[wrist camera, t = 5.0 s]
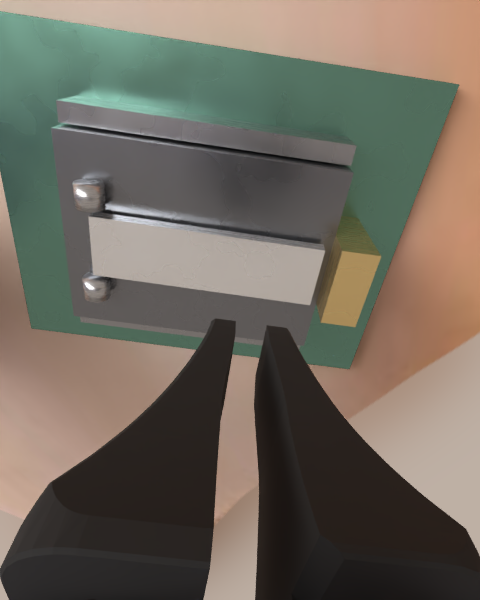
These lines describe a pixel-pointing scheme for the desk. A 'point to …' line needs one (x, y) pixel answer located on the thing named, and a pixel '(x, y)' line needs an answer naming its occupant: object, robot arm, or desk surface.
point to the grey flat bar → (204, 258)
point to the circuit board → (205, 175)
